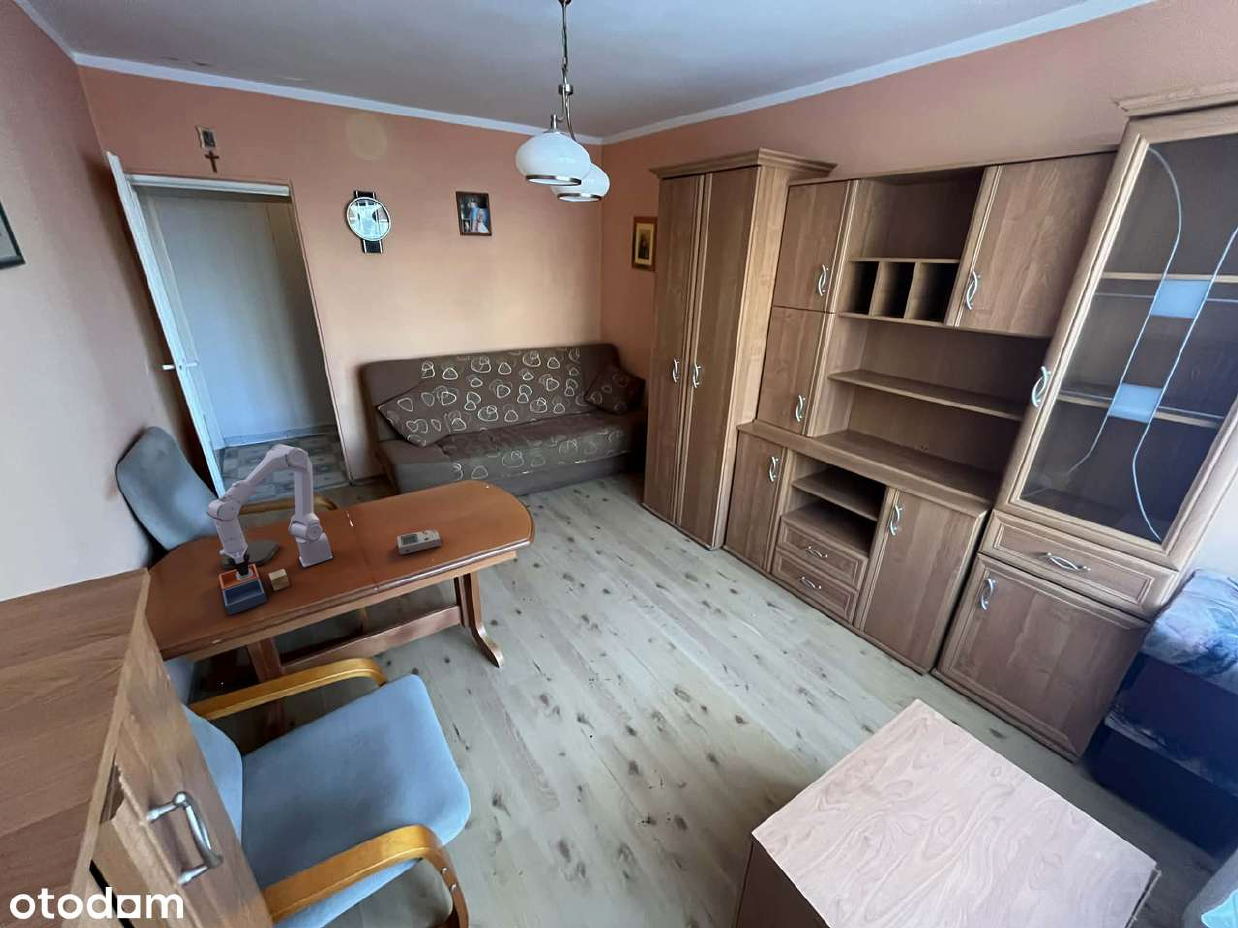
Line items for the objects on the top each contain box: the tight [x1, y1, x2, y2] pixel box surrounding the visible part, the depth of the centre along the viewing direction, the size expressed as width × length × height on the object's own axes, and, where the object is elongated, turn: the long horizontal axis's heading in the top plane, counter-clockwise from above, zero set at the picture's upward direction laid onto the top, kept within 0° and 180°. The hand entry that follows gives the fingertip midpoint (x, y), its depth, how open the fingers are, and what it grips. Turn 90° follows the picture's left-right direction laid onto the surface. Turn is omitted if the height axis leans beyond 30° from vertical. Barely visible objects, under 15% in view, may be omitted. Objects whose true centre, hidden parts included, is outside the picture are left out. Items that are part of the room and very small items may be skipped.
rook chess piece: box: [236, 568, 253, 581], centre depth 161 cm, size 4×4×8 cm
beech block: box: [268, 568, 291, 592], centre depth 169 cm, size 4×4×4 cm
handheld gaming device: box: [396, 529, 442, 555], centre depth 193 cm, size 9×15×4 cm, turn 116°
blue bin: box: [221, 577, 269, 616], centre depth 162 cm, size 10×10×4 cm
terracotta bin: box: [218, 564, 260, 591], centre depth 170 cm, size 10×10×4 cm
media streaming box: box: [221, 539, 279, 570], centre depth 185 cm, size 15×15×3 cm
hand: (243, 571), depth 162 cm, fingers closed on rook chess piece, 3 cm apart
